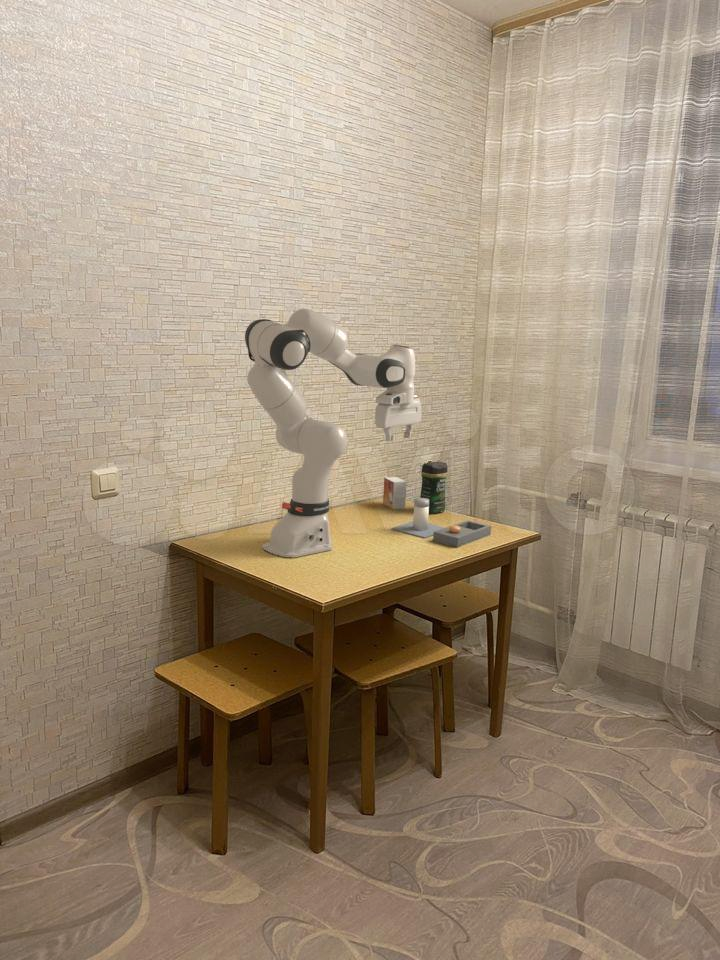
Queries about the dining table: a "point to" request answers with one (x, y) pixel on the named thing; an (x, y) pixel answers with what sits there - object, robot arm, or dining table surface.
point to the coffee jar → (434, 485)
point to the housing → (462, 533)
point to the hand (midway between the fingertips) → (398, 439)
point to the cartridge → (421, 514)
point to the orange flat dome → (454, 529)
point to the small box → (394, 492)
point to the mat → (423, 534)
